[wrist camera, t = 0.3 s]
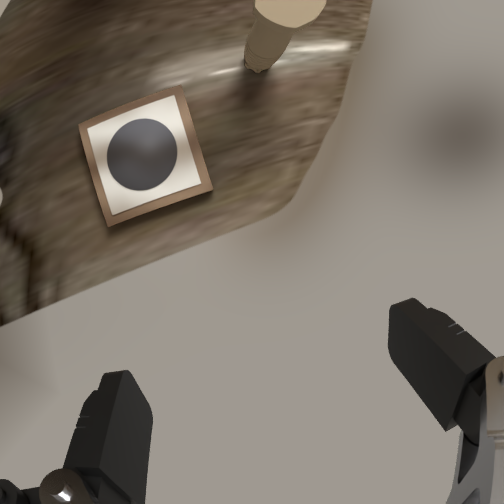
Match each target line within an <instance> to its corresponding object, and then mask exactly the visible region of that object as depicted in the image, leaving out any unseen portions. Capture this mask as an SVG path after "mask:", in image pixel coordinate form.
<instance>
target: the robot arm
mask: <svg viewBox="0 0 504 504" xmlns="http://www.w3.org/2000/svg"><path fill="white" fill-rule="evenodd" d="M388 349H389V354H390V357H391V359H392V361H393V362H394V364H395V365H396V366H397V368H398V369H399V370H400V372H401V373H402V374H403V376H404V377H405V378H406V379H407V381H408V382H409V383H410V385H411V386H412V387H413V388H414V390H415V391H416V393H417V394H418V395H419V397H420V398H421V399H422V401H423V402H424V403H425V405H426V406H427V407H428V409H429V410H430V411H431V413H432V414H433V415H434V417H435V418H436V419H437V421H438V422H439V423H440V425H441V426H442V427H443V429H444V430H445V432H446V431H448V430H450V429H451V428H453V427H455V426H456V425H459V427H460V428H461V429H462V430H461V433H460V436H459V446H458V454H457V462H456V468H455V474H454V480H453V485H452V489H451V492H450V495H449V497H448V499H447V502H446V504H504V356H500V357H497V358H496V357H495V356H494V355H493V354H491V353H490V352H489V351H488V350H487V349H486V348H485V347H484V346H482V345H481V344H480V343H479V342H478V341H477V340H476V339H475V338H473V337H472V336H471V335H470V334H469V333H468V332H467V331H464V329H463V328H462V327H461V326H460V325H458V324H456V323H455V321H454V320H452V319H451V318H450V317H449V316H448V315H447V314H445V313H443V312H441V311H438V310H436V309H433V308H428V309H427V308H426V307H425V306H424V305H423V304H421V303H420V302H419V301H418V300H417V299H415V298H410V299H408V300H405V301H402V302H399V303H396V304H394V305H392V306H391V307H390V310H389V333H388ZM152 425H153V417H152V411H151V408H150V405H149V403H148V402H147V400H146V398H145V396H144V395H143V393H142V391H141V390H140V388H139V386H138V384H137V383H136V381H135V379H134V377H133V376H132V374H131V373H130V372H129V371H128V370H123V371H116V372H109V373H105V374H104V375H103V376H102V379H101V382H100V385H99V388H98V390H94V391H93V392H92V393H91V394H90V396H89V397H88V398H87V399H86V401H85V402H84V404H83V407H82V410H81V413H80V418H78V422H77V424H76V427H77V428H76V429H75V430H74V433H73V436H72V439H71V442H70V446H69V449H68V452H67V455H66V459H65V462H64V465H63V468H61V469H56V470H54V471H52V472H50V473H49V474H48V475H46V477H45V478H44V479H43V480H42V482H41V484H40V487H35V488H30V489H24V490H20V489H19V488H17V487H16V486H15V485H14V484H13V483H12V482H10V481H9V480H6V479H0V504H145V495H146V483H147V472H148V461H149V451H150V442H151V433H152Z"/></svg>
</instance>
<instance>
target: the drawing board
mask: <svg viewBox="0 0 504 504" xmlns="http://www.w3.org/2000/svg"><path fill="white" fill-rule="evenodd" d="M78 126H79V130H80V135H81V139H82V143H83V147H84V150H85V154H86V158H87V162H88V165H89V169H90V172H91V176H92V179H93V182H94V186H95V189H96V192H97V196H98V199H99V202H100V205H101V208H102V211H103V214H104V217H105V220H106V223H107V226H108V227H110V226H112V225H115V224H117V223H120V222H123V221H125V220H128V219H131V218H133V217H136V216H139V215H141V214H144V213H147V212H150V211H152V210H155V209H158V208H161V207H164V206H166V205H169V204H172V203H175V202H178V201H181V200H184V199H187V198H190V197H193V196H196V195H199V194H202V193H205V192H208V191H211V190H213V187H212V184H211V181H210V177H209V174H208V171H207V168H206V165H205V161H204V158H203V155H202V152H201V148H200V145H199V142H198V139H197V135H196V132H195V129H194V125H193V122H192V119H191V116H190V112H189V109H188V106H187V102H186V99H185V96H184V92H183V89H182V86H181V85H178V86H175V87H172V88H169V89H166V90H163V91H160V92H157V93H154V94H151V95H148V96H146V97H143V98H140V99H137V100H135V101H132V102H130V103H127V104H124V105H122V106H119V107H117V108H115V109H112V110H110V111H107V112H105V113H103V114H100V115H98V116H96V117H94V118H91V119H89V120H87V121H85V122H83V123H81V124H78Z"/></svg>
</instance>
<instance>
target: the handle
mask: <svg viewBox="0 0 504 504" xmlns="http://www.w3.org/2000/svg"><path fill="white" fill-rule="evenodd" d="M325 4H326V0H254V3H253V15H254V16H255V18H256V19H257V20H256V22H255V23H254V25H253V27H252V29H251V31H250V33H249V35H248V38H247V41H246V45H245V51H244V57H245V60H246V62H245V66H246V68H247V69H252V70H253V71H255V73H260V72H261V71H262V70H264V69H269V68H270V67H271V66H272V65H273V64H274V63H275V62H276V61H277V60H278V59H279V58H280V56H281V55H282V54H283V52H284V51H285V49H286V47H287V45H288V44H289V42H290V40H291V38H292V36H293V34H294V33H295V32H297V31H299V30H302V29H304V28H306V27H307V26H309V25H311V24H312V23H313V22H314V20H315V19H316V18H317V16H318V15H319V14H320V12H321V11H322V9H323V8H324V6H325Z"/></svg>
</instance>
